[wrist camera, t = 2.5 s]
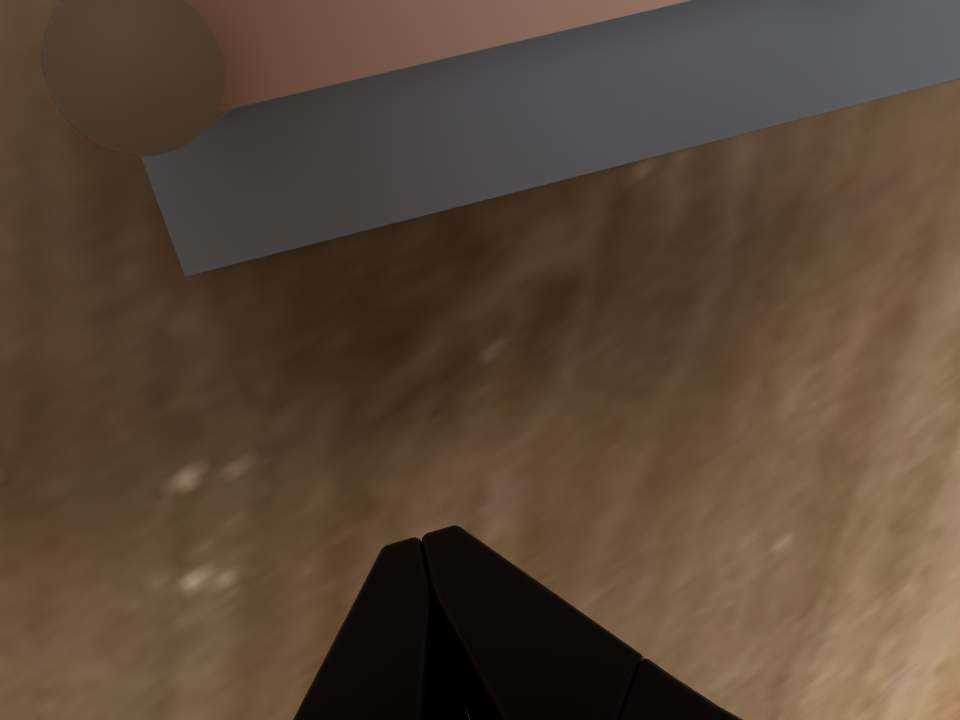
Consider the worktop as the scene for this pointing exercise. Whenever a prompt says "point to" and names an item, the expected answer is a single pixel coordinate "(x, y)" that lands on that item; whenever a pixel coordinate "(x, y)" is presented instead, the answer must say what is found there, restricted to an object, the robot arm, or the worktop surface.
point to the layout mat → (534, 116)
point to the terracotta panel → (261, 53)
